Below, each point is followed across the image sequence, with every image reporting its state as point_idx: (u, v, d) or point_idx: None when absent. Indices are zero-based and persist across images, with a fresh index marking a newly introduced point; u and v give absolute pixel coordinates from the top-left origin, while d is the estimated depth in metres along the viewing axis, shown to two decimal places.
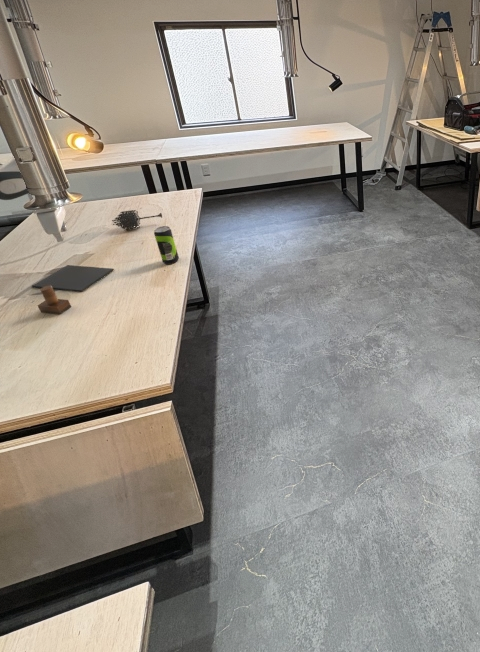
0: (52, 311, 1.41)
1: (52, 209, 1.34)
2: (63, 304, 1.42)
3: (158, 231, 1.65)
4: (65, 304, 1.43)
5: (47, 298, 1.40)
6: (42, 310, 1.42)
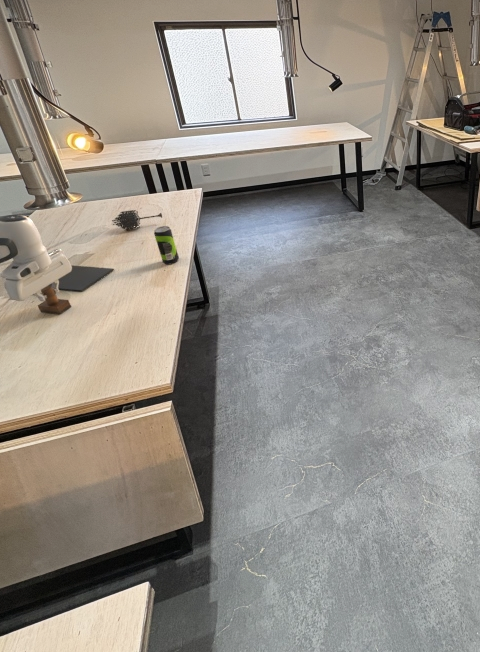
0: (52, 311, 1.41)
1: (15, 278, 1.28)
2: (63, 304, 1.42)
3: (158, 231, 1.65)
4: (65, 304, 1.43)
5: None
6: (42, 310, 1.42)
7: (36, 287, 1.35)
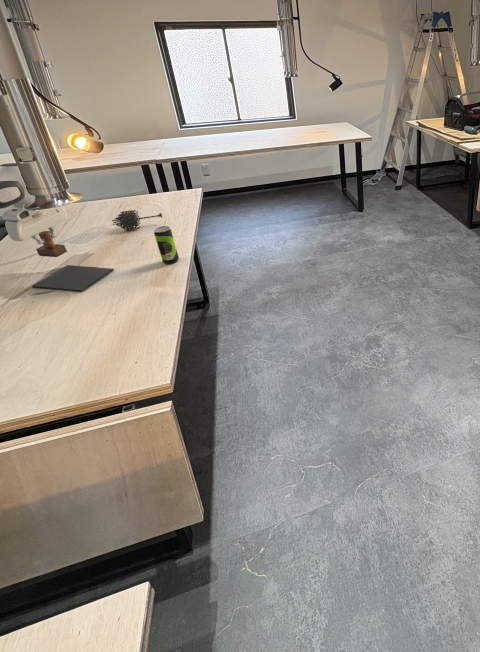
0: (49, 254, 1.54)
1: (14, 219, 1.41)
2: (59, 248, 1.55)
3: (158, 231, 1.65)
4: (61, 248, 1.56)
5: None
6: (40, 253, 1.55)
7: (34, 230, 1.48)
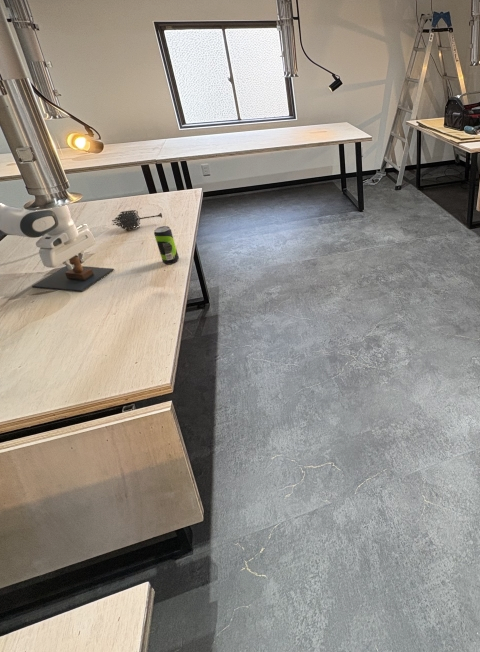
0: (77, 278, 1.59)
1: (48, 247, 1.45)
2: (87, 272, 1.60)
3: (158, 231, 1.65)
4: (89, 272, 1.60)
5: None
6: (68, 277, 1.60)
7: (66, 256, 1.52)
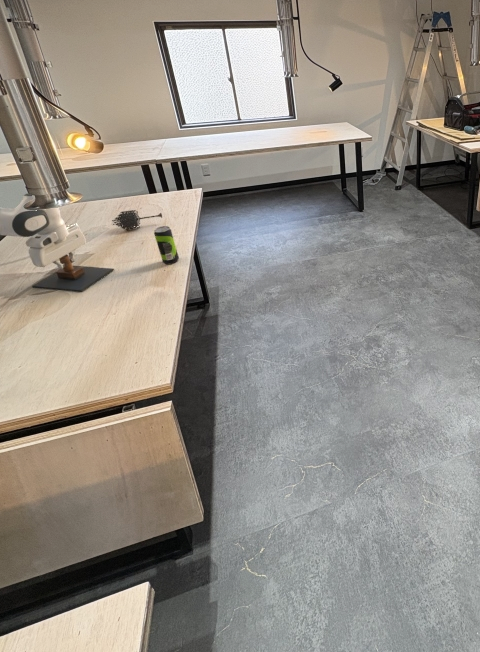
0: (68, 277, 1.59)
1: (38, 246, 1.46)
2: (77, 271, 1.60)
3: (158, 231, 1.65)
4: (79, 271, 1.61)
5: None
6: (59, 276, 1.60)
7: (56, 255, 1.53)
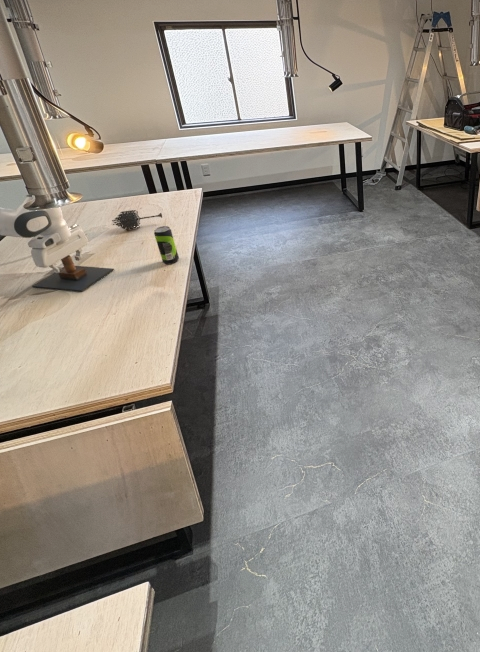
0: (70, 278, 1.59)
1: (40, 247, 1.46)
2: (80, 272, 1.60)
3: (158, 231, 1.65)
4: (81, 272, 1.61)
5: (66, 266, 1.58)
6: (61, 277, 1.60)
7: (58, 256, 1.53)
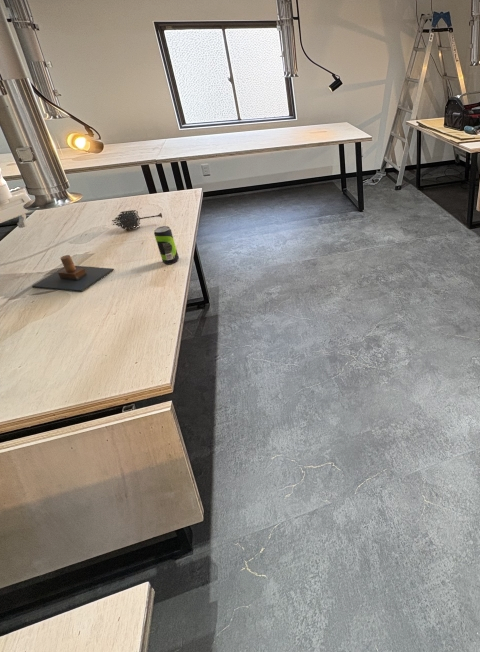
0: (70, 278, 1.59)
1: None
2: (80, 272, 1.60)
3: (158, 231, 1.65)
4: (81, 272, 1.61)
5: (66, 266, 1.58)
6: (61, 277, 1.60)
7: None
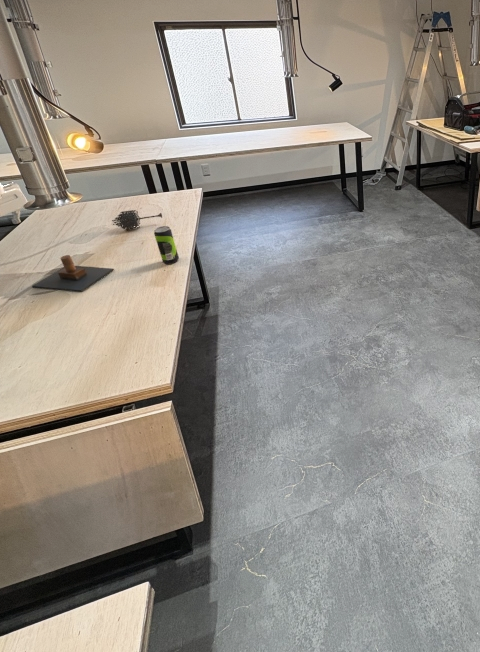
0: (70, 278, 1.59)
1: None
2: (80, 272, 1.60)
3: (158, 231, 1.65)
4: (81, 272, 1.61)
5: (66, 266, 1.58)
6: (61, 277, 1.60)
7: None
